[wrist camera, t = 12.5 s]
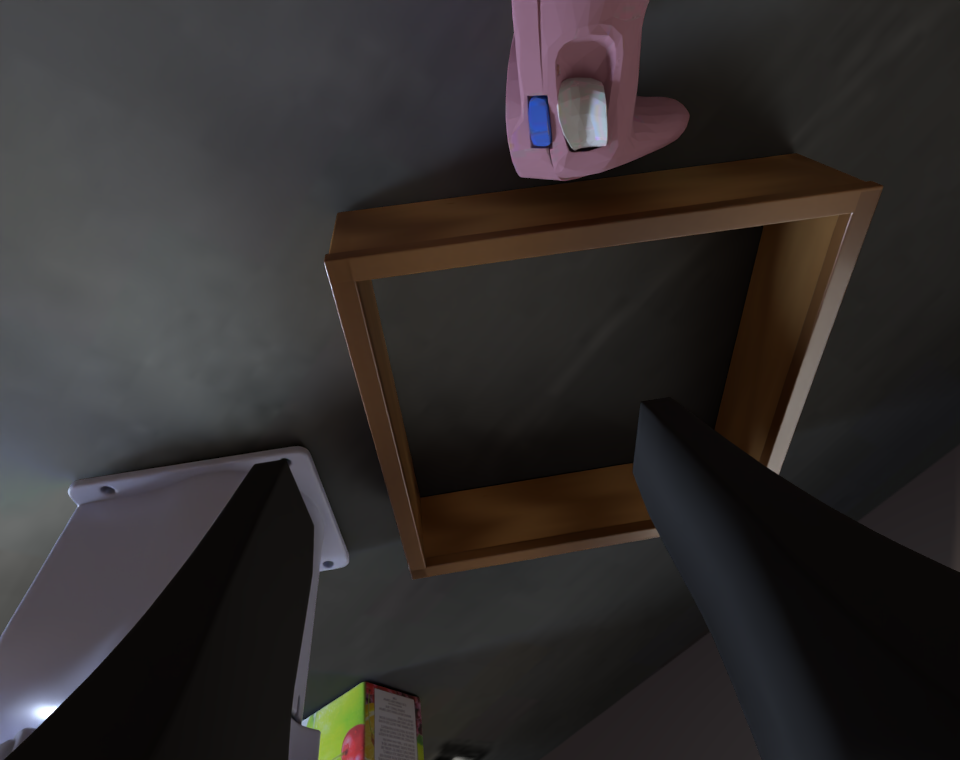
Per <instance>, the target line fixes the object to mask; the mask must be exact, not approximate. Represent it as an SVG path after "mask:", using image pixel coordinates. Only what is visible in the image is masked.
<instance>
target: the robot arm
mask: <svg viewBox="0 0 960 760" xmlns="http://www.w3.org/2000/svg"><path fill="white" fill-rule="evenodd" d="M282 458H287V459H289V460H288V461H287V460H286V459H282ZM632 472H633V475H634V477H635V480H636V483H637V485H638V488H639V491H640V494H641V496H642V499H643V501H644V504H645V506H646V509H647V511H648V514H649V516H650V518H651V520H652V522H653V524H654V526H655V528H656V530H657V532H658V533H659V535H660V537H661V539H662V541H663V543H664V545H665V547H666V549H667V551H668V552H669V554H670V556H671V558H672V560H673V562H674V564H675V565H676V567H677V569H678V571H679V573H680V575H681V577H682V578H683V580H684V582H685V584H686V586H687V588H688V590H689V591H690V593H691V595H692V597H693V599H694V601H695V603H696V604H697V606H698V608H699V610H700V612H701V614H702V616H703V618H704V620H705V622H706V624H707V626H708V628H709V630H710V633H711V635H712V637H713V639H714V642H715V644H716V646H717V649H718V651H719V654H720V656H721V658H722V661H723V663H724V666H725V668H726V670H727V673H728V675H729V677H730V680H731V682H732V685H733V687H734V690H735V692H736V695H737V697H738V700H739V703H740V705H741V707H742V710H743V712H744V715H745V718H746V720H747V723H748V725H749V728H750V730H751V733H752V735H753V738H754V740H755V743H756V746H757V749H758V751H759V754H760V757H761V759H762V760H960V572H958V571H956V570H953V569H951V568H949V567H946V566H945V565H942V564H940V563H938V562H936V561H934V560H932V559H930V558H927V557H926V556H924V555H921V554H919V553H917V552H915V551H913V550H911V549H909V548H907V547H905V546H902V545H900V544H898V543H896V542H895V541H892V540H891V539H889V538H887V537H885V536H883V535H881V534H879V533H877V532H875V531H873V530H871V529H869V528H867V527H866V526H864V525H862V524H860V523H858V522H857V521H855V520H853V519H851V518H849V517H848V516H846V515H844V514H842V513H840V512H838V511H837V510H835V509H833V508H831V507H830V506H828V505H826V504H825V503H823V502H821V501H819V500H818V499H816V498H814V497H813V496H811V495H810V494H808V493H806V492H805V491H803V490H802V489H800V488H798V487H797V486H795V485H794V484H792V483H790V482H789V481H787V480H786V479H784V478H783V477H781V476H779V475H778V474H776V473H775V472H773V471H772V470H770V469H769V468H767V467H766V466H764V465H763V464H762V463H760V462H759V461H757V460H756V459H754V458H753V457H751V456H750V455H748V454H747V453H746V452H744V451H743V450H741V449H740V448H739V447H737V446H736V445H734V444H733V443H732V442H730V441H729V440H727V439H726V438H725V437H723V436H722V435H721V434H719V433H718V432H716V431H715V430H714V429H712V428H711V427H710V426H708V425H707V424H706V423H704V422H703V421H702V420H700V419H699V418H698V417H696V416H695V415H694V414H692V413H691V412H690V411H688V410H687V409H685V408H684V407H683V406H681V405H680V404H679V403H677V402H676V401H674V400H673V399H672V398H670V397H667V398H661V399H654V400H648V401H642V402H641V404H640V412H639V421H638V429H637V437H636V446H635V454H634V462H633V471H632ZM108 486H109V487H108ZM111 487H112V488H111ZM68 494H69V496H70V497H71V498H72V499H73V501H74V502H75V503H76V504H77V506H78V507H77V508H76V510H75V512H74V513H73V515H72V517H71V518H70V520H69V522H68V523H67V525H66V527H65V528H64V530H63V532H62V533H61V535H60V537H59V539H58V540H57V542H56V544H55V545H54V547H53V549H52V550H51V552H50V554H49V555H48V557H47V559H46V560H45V562H44V564H43V566H42V567H41V569H40V571H39V572H38V574H37V576H36V577H35V579H34V581H33V582H32V584H31V586H30V587H29V589H28V591H27V593H26V594H25V596H24V598H23V599H22V601H21V603H20V604H19V606H18V608H17V609H16V611H15V613H14V614H13V616H12V618H11V620H10V621H9V623H8V625H7V626H6V628H5V630H4V631H3V633H2V635H1V637H0V760H318V757H319V746H320V734H321V732H320V731H319V730H317V729H312V728H308V727H305V726H303V725H302V719H303V710H304V701H305V693H306V684H307V675H308V667H309V658H310V649H311V641H312V632H313V623H314V615H315V606H316V597H317V588H318V580H319V571H325V570H331V569H337V568H342V567H344V566H346V565H347V564H348V563H349V553H348V550H347V548H346V545H345V543H344V540H343V537H342V535H341V532H340V530H339V527H338V524H337V522H336V519H335V516H334V514H333V511H332V509H331V506H330V503H329V501H328V498H327V496H326V493H325V490H324V488H323V485H322V482H321V480H320V477H319V475H318V472H317V469H316V467H315V464H314V462H313V459H312V456H311V454H310V452H309V451H308V449H306V448H304V447H301V446H293V447H286V448H280V449H273V450H267V451H260V452H254V453H248V454H241V455H235V456H228V457H222V458H215V459H209V460H203V461H196V462H190V463H183V464H177V465H170V466H164V467H158V468H151V469H145V470H138V471H132V472H125V473H119V474H113V475H106V476H100V477H93V478H87V479H80V480H77V481H74V482H73V483H72V484H71V486H70V488H69V489H68Z"/></svg>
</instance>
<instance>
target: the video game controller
mask: <svg viewBox="0 0 960 760" xmlns="http://www.w3.org/2000/svg"><path fill="white" fill-rule="evenodd" d="M648 3H649V0H512V14H513V25H514V35H513V40H512V45H511V49H510V56H509V64H508V71H507V87H506V128H507V138H508V144H509V149H510V154H511V159H512V162H513V164H514V167H515V169H516V172H517V173H518V175H519V176H520V177H523V178H536V179H549V180H561V181H567V180H572V179H577V178H581V177H584V176H587V175H592V174H597V173H601V172H604V171H607V170H610V169H612V168H615V167H618V166H620V165H623V164H626V163H628V162H631V161H633V160H636V159H638V158H641V157H643V156H645V155H647V154H649V153H652V152H654V151H656V150H658V149H661V148H663V147H665V146H667V145H668V144H670V143H672V142H674V141H675V140H677V139H678V138H679V137H680V135H681V134H682V133H683V132H684V130H685V129H686V127H687V124H688V121H689V116H690V115H689V113H688V111H687V109H686V108H685V107H684V106H683V104H681V103H680V102H678V101H677V100H675V99H671V98H667V97H642V96H636V94H637V87H638V77H639V63H640V48H641V33H642V24H643V20H644V16H645V11H646V8H647V6H648Z"/></svg>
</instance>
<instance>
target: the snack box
mask: <svg viewBox="0 0 960 760" xmlns="http://www.w3.org/2000/svg"><path fill="white" fill-rule="evenodd" d="M302 725H303V726H305V727H308V728H312V729H317V730H319V731H320V732H321V734H320V746H319V757H318V760H424V753H423V738H422V720H421V704H420V698H419V697H414V696H411V695H408V694H405V693H401V692H398V691H395V690H392V689H388V688H385V687H382V686H378V685H375V684H372V683H369V682H366V681H365V682H362V683H360V684H359V685H357V686H355V687H354V688H352V689H351V690H350V691H348V692H347V693H345V694H344V695H342V696H340V697H339V698H337V699H336V700H334V701H333V702H331V703H330V704H328V705H327V706H325V707H323V708H322V709H320V710H319V711H317V712H316V713H314V714H313V715H311V716H309V717H308V718H306V719H305V720H303V721H302Z"/></svg>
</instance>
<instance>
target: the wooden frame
mask: <svg viewBox="0 0 960 760" xmlns="http://www.w3.org/2000/svg"><path fill="white" fill-rule="evenodd" d="M882 189H883V185H880V184H878V183H875V182H873V181H867V182H865V181H863V180H860V179H858V178H855V177H853V176H851V175H848V174H846V173H843V172H841V171H838V170H836V169H834V168H831V167H829V166H826V165H824V164H821V163H819V162H817V161H814V160H812V159H809V158H807V157H805V156H802V155H800V154H797V153H794V154H786V155H778V156H771V157H763V158H755V159H747V160H740V161H732V162H724V163H717V164H709V165H701V166H694V167H686V168H678V169H670V170H663V171H655V172H647V173H640V174H632V175H624V176H617V177H609V178H601V179H594V180H586V181H578V182H570V183H563V184H555V185H547V186H540V187H532V188H524V189H517V190H509V191H501V192H493V193H486V194H478V195H470V196H463V197H455V198H447V199H440V200H432V201H424V202H416V203H409V204H401V205H393V206H386V207H378V208H370V209H363V210H355V211H347V212H339V213H337V217H336V221H335V226H334V231H333V235H332V240H331V245H330V249H329V254H326V255H325V259H324V265H325V269H326V272H327V276H328V280H329V283H330V287H331V290H332V294H333V297H334V301H335V304H336V308H337V312H338V315H339V319H340V322H341V326H342V330H343V333H344V337H345V340H346V344H347V348H348V351H349V355H350V358H351V362H352V366H353V369H354V373H355V376H356V380H357V384H358V387H359V391H360V394H361V398H362V402H363V405H364V409H365V412H366V416H367V420H368V423H369V427H370V430H371V434H372V438H373V441H374V445H375V448H376V452H377V455H378V459H379V463H380V466H381V470H382V473H383V477H384V481H385V484H386V488H387V491H388V495H389V499H390V502H391V506H392V509H393V513H394V517H395V520H396V524H397V527H398V531H399V535H400V538H401V542H402V545H403V549H404V553H405V556H406V560H407V563H408V567H409V571H410V574H411V578H412V579H419V578H424V577H430V576H436V575H442V574H448V573H453V572H459V571H465V570H471V569H476V568H482V567H488V566H494V565H500V564H505V563H511V562H517V561H523V560H529V559H534V558H540V557H546V556H552V555H557V554H563V553H569V552H575V551H581V550H586V549H592V548H598V547H604V546H610V545H615V544H621V543H627V542H633V541H638V540H644V539H650V538H656V537H660V535H659V533H658V532H657V530H656V528H655V526H654V524H653V522H652V520H651V518H650V516H649V514H648V511H647V509H646V506H645V504H644V501H643V499H642V496H641V494H640V491H639V488H638V485H637V483H636V480H635V477H634V475H633V472H632V471H633V463H629V464H623V465H617V466H611V467H605V468H598V469H592V470H586V471H580V472H574V473H568V474H562V475H556V476H550V477H543V478H537V479H531V480H525V481H519V482H513V483H507V484H501V485H495V486H488V487H482V488H476V489H470V490H464V491H458V492H452V493H446V494H440V495H433V496H427V497H421V498H420V493H419V489H418V485H417V480H416V476H415V471H414V467H413V462H412V458H411V454H410V449H409V445H408V440H407V436H406V431H405V427H404V423H403V418H402V414H401V409H400V405H399V400H398V396H397V392H396V387H395V383H394V378H393V374H392V369H391V365H390V360H389V356H388V352H387V347H386V343H385V338H384V334H383V329H382V325H381V321H380V316H379V312H378V307H377V303H376V298H375V294H374V290H373V285H372V281H371V279H378V278H386V277H393V276H400V275H407V274H415V273H422V272H429V271H436V270H444V269H451V268H458V267H465V266H473V265H480V264H487V263H494V262H502V261H509V260H516V259H523V258H530V257H538V256H545V255H552V254H559V253H567V252H574V251H581V250H588V249H596V248H603V247H610V246H617V245H625V244H632V243H639V242H646V241H654V240H661V239H668V238H675V237H683V236H690V235H697V234H704V233H712V232H719V231H726V230H733V229H741V228H748V227H755V226H762V225H764V226H763V230H762V234H761V238H760V243H759V247H758V251H757V255H756V259H755V263H754V267H753V272H752V276H751V280H750V284H749V288H748V292H747V296H746V301H745V305H744V309H743V313H742V317H741V321H740V325H739V330H738V334H737V338H736V342H735V346H734V350H733V354H732V359H731V363H730V367H729V371H728V375H727V379H726V383H725V388H724V392H723V396H722V400H721V404H720V408H719V412H718V417H717V421H716V425H715V429H714V430H715V431H716V432H718V433H719V434H721V435H722V436H723V437H725V438H726V439H727V440H729V441H730V442H732V443H733V444H734V445H736V446H737V447H739V448H740V449H741V450H743V451H744V452H746V453H747V454H748V455H750V456H751V457H753V458H754V459H756V460H757V461H759V462H760V463H762V464H763V465H764V466H766V467H767V468H769V469H770V470H772V471H773V472H775V473H776V474H778V475H779V473H780V470H781V467H782V464H783V462H784V459H785V456H786V453H787V451H788V448H789V445H790V442H791V440H792V437H793V434H794V431H795V429H796V426H797V423H798V420H799V418H800V415H801V412H802V409H803V407H804V404H805V401H806V398H807V396H808V393H809V390H810V387H811V385H812V382H813V379H814V376H815V374H816V371H817V368H818V365H819V363H820V360H821V357H822V354H823V352H824V349H825V346H826V343H827V341H828V338H829V335H830V332H831V330H832V327H833V324H834V321H835V319H836V316H837V313H838V310H839V308H840V305H841V302H842V299H843V297H844V294H845V291H846V288H847V286H848V283H849V280H850V277H851V275H852V272H853V269H854V266H855V263H856V261H857V258H858V255H859V252H860V250H861V247H862V244H863V241H864V239H865V236H866V233H867V230H868V228H869V225H870V222H871V219H872V217H873V214H874V211H875V208H876V206H877V203H878V200H879V197H880V195H881V192H882Z"/></svg>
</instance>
